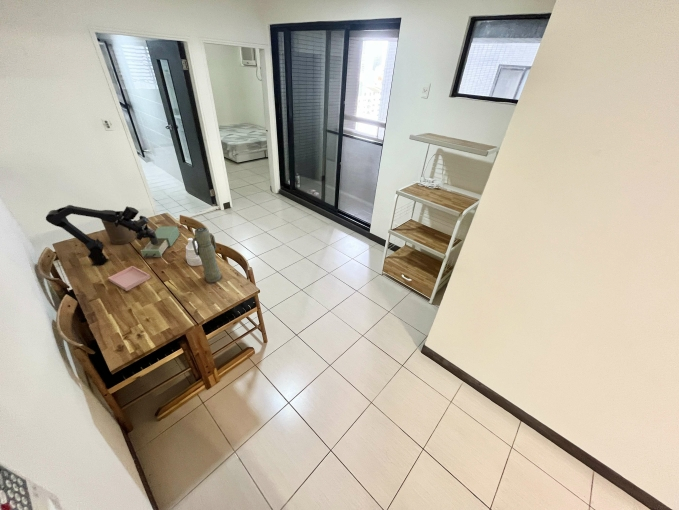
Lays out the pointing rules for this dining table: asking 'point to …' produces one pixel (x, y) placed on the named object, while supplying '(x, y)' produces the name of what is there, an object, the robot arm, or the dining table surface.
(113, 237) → the wooden container
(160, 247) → the drawer
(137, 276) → the tray
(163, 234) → the cabinet
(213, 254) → the thermos
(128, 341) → the dining table surface
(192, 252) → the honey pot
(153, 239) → the pepper mill
